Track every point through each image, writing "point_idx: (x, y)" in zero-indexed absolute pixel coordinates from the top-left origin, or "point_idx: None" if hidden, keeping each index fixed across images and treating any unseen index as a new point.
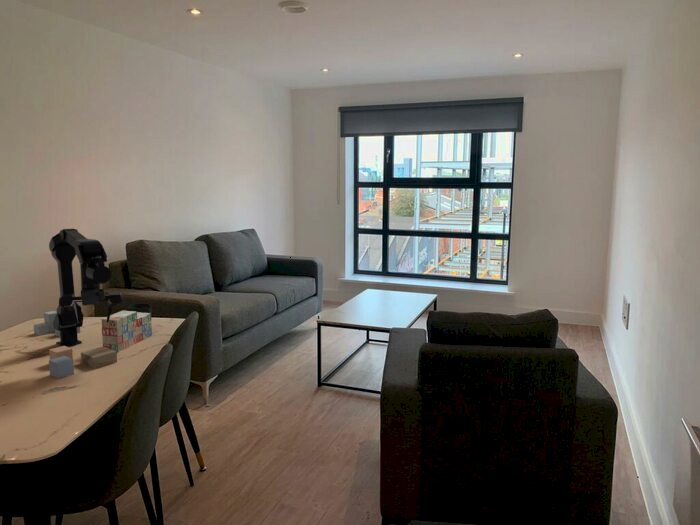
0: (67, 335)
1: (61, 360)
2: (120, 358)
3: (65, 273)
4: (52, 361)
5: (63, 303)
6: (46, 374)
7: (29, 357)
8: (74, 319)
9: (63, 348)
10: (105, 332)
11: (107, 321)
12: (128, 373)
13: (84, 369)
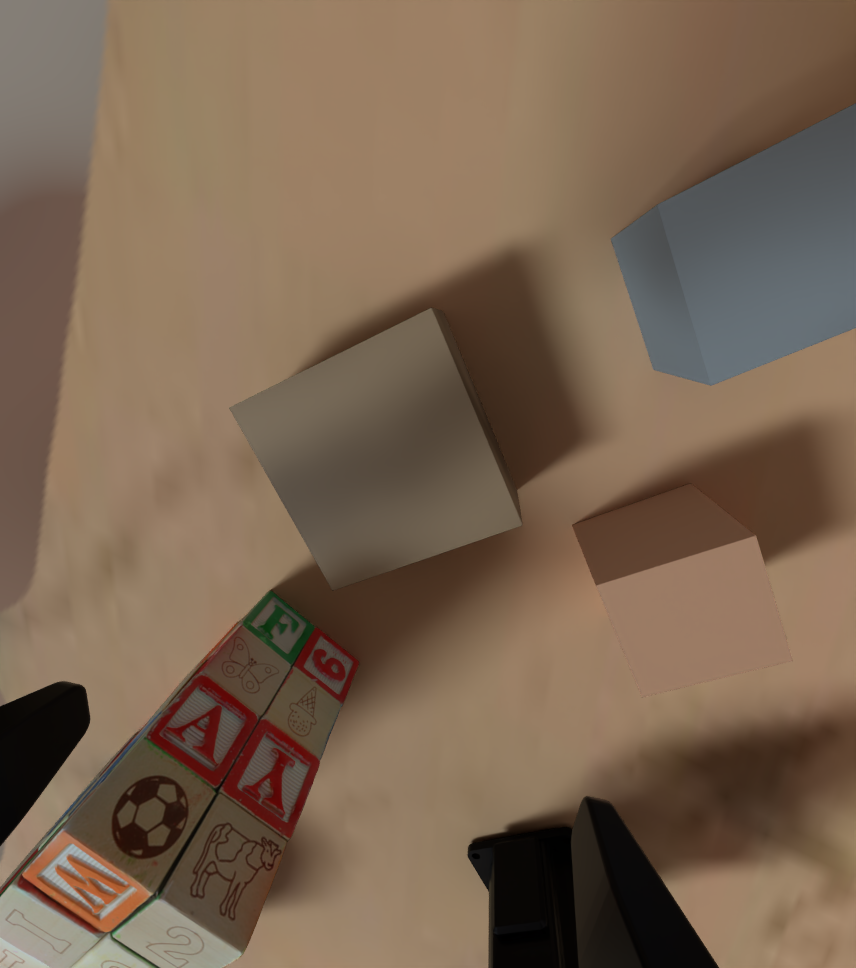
0: (558, 921)
1: (792, 216)
2: (253, 460)
3: None
4: None
5: None
6: None
7: (814, 760)
8: (702, 949)
9: (667, 628)
10: (282, 768)
11: (51, 695)
12: (182, 23)
13: (516, 323)
